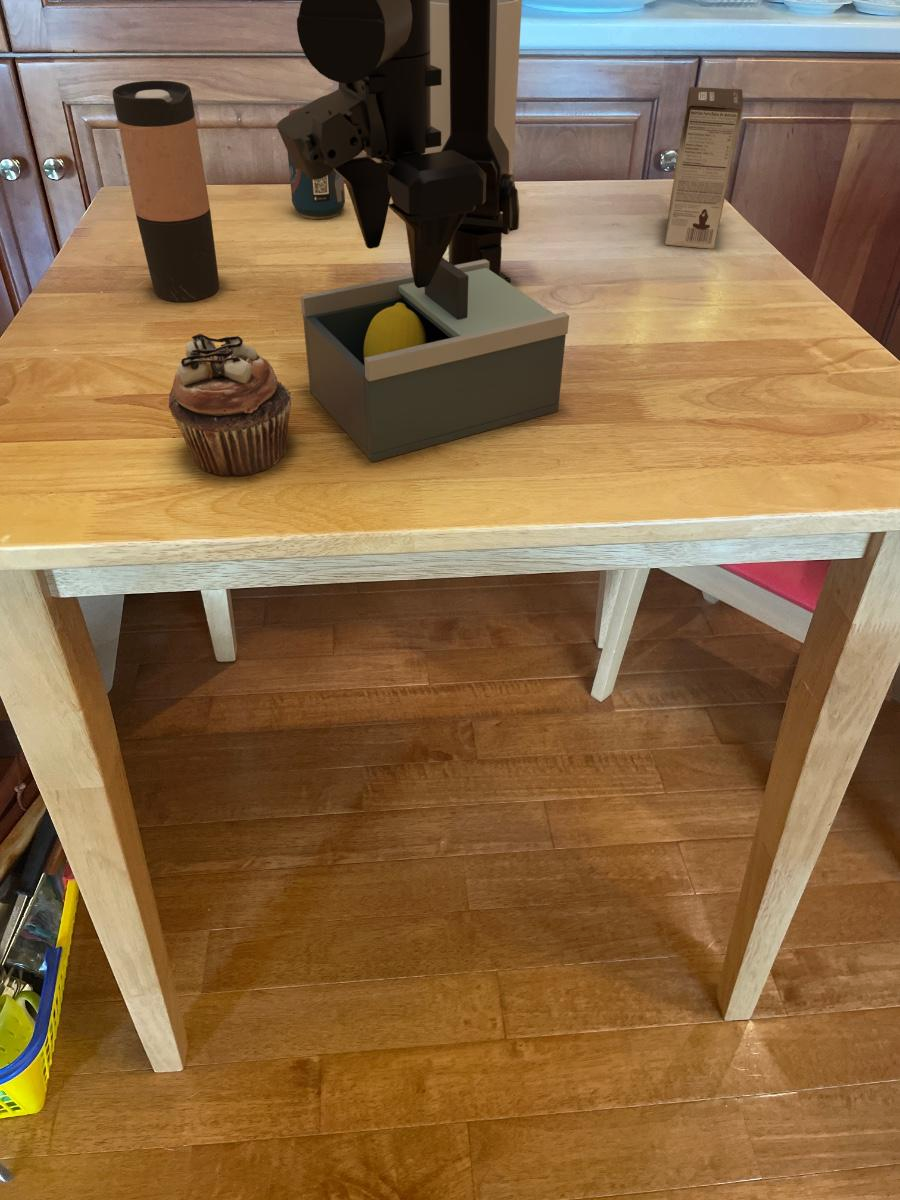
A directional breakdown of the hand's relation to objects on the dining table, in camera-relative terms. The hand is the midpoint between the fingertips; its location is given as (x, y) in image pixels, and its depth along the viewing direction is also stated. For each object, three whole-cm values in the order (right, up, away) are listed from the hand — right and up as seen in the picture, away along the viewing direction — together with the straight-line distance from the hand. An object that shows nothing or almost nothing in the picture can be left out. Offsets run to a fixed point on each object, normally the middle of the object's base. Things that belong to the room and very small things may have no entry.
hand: (396, 266), depth 76 cm
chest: (+3, -9, +9) cm, 13 cm away
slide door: (+7, -2, +5) cm, 8 cm away
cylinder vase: (+6, +22, +44) cm, 50 cm away
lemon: (-1, -9, +6) cm, 11 cm away
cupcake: (-13, -15, +2) cm, 20 cm away
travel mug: (-25, +7, +27) cm, 37 cm away
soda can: (-13, +24, +47) cm, 54 cm away
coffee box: (+35, +19, +42) cm, 58 cm away
